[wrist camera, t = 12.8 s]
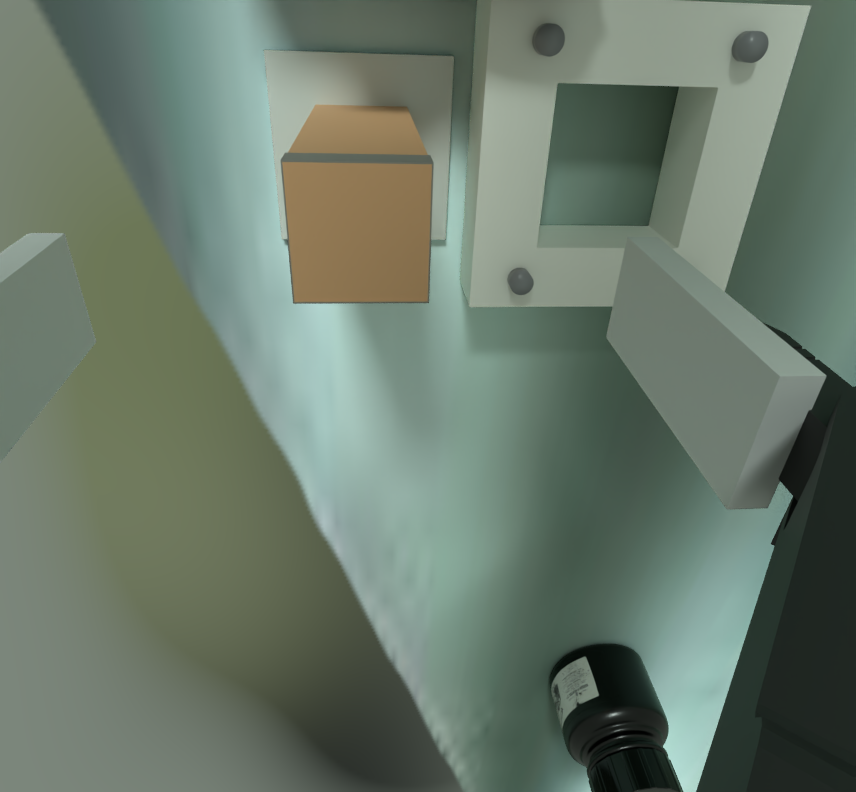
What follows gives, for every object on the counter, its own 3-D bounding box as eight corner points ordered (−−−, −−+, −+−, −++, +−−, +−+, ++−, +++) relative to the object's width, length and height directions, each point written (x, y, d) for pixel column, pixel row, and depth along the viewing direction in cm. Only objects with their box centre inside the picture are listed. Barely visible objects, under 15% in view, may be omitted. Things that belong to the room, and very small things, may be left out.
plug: (314, 103, 30) (280, 160, 18) (407, 105, 31) (433, 162, 19) (320, 198, 33) (293, 303, 21) (406, 199, 33) (428, 303, 21)
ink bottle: (551, 641, 55) (594, 784, 45) (648, 632, 55) (711, 771, 45) (544, 705, 60) (580, 845, 50) (632, 696, 61) (686, 833, 50)
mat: (265, 49, 29) (263, 50, 29) (453, 55, 30) (454, 56, 30) (282, 236, 34) (281, 239, 34) (444, 237, 35) (445, 239, 34)
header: (477, -5, 29) (495, -8, 25) (760, 6, 30) (822, 5, 26) (459, 279, 36) (471, 313, 32) (688, 279, 37) (727, 311, 33)
